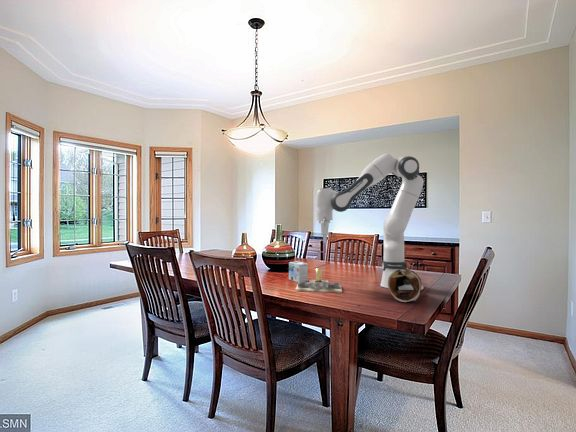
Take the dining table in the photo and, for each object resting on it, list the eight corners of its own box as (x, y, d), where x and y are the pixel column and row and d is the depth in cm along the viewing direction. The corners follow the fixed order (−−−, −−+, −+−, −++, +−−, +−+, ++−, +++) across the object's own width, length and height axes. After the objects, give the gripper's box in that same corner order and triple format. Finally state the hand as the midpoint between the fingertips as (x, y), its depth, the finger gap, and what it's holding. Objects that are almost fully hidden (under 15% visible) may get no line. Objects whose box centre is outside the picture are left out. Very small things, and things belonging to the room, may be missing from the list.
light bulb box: (288, 279, 206) (288, 261, 206) (297, 278, 210) (297, 260, 210) (299, 282, 197) (299, 264, 197) (308, 281, 201) (308, 263, 201)
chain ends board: (341, 287, 187) (341, 279, 187) (341, 292, 175) (341, 284, 175) (297, 285, 190) (297, 278, 190) (295, 290, 178) (295, 283, 178)
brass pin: (321, 286, 184) (321, 268, 183) (321, 287, 181) (321, 269, 180) (316, 286, 184) (316, 268, 184) (315, 287, 181) (315, 269, 181)
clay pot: (420, 268, 178) (419, 267, 155) (423, 298, 175) (423, 301, 152) (390, 270, 184) (386, 269, 161) (394, 299, 180) (389, 302, 158)
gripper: (330, 217, 178) (331, 243, 178) (329, 216, 198) (330, 240, 198) (318, 217, 178) (318, 244, 179) (319, 216, 199) (319, 240, 199)
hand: (325, 242), depth 189 cm, fingers open, 8 cm apart
